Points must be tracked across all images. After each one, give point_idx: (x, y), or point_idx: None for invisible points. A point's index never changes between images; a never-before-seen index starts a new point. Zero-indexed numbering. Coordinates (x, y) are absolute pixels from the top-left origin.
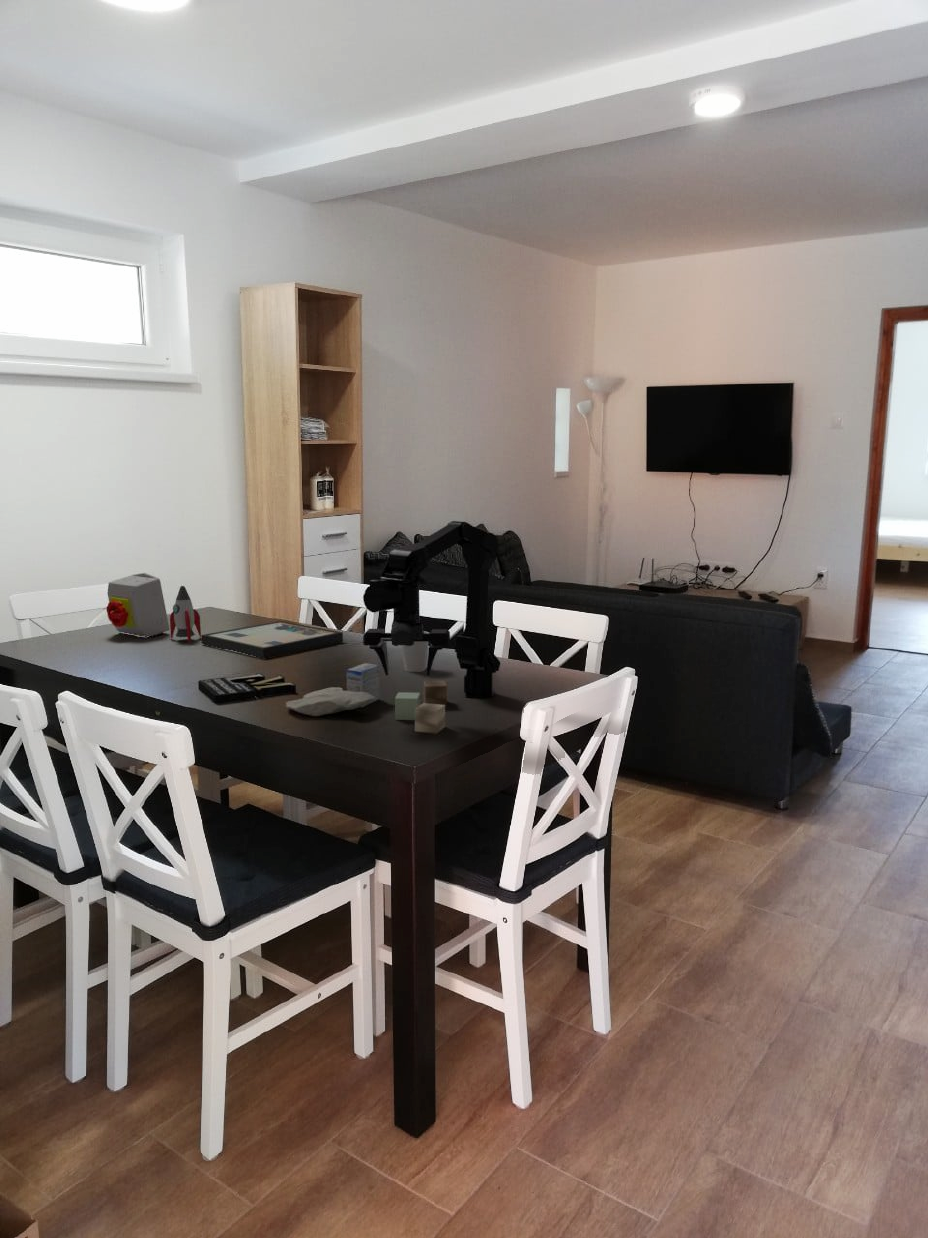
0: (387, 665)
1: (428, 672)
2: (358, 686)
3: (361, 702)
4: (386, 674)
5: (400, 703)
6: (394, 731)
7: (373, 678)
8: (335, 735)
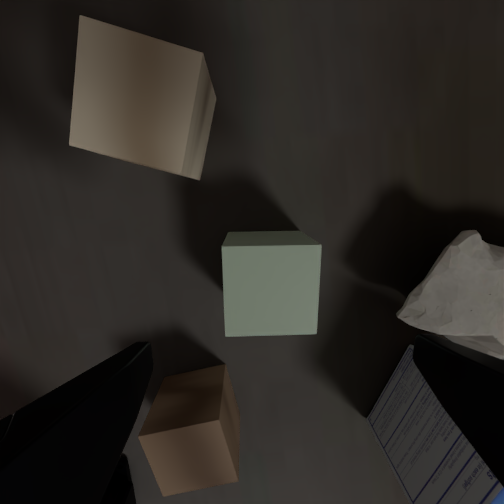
0: (473, 398)
1: (126, 350)
2: None
3: (447, 247)
4: (428, 335)
5: (292, 240)
6: (286, 91)
7: (431, 469)
8: (488, 23)
